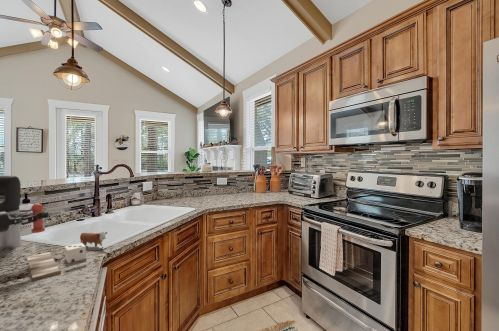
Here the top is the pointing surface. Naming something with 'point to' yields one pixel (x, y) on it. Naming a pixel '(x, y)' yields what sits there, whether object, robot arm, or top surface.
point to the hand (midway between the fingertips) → (45, 214)
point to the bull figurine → (92, 238)
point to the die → (75, 252)
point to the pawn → (38, 224)
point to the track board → (42, 266)
